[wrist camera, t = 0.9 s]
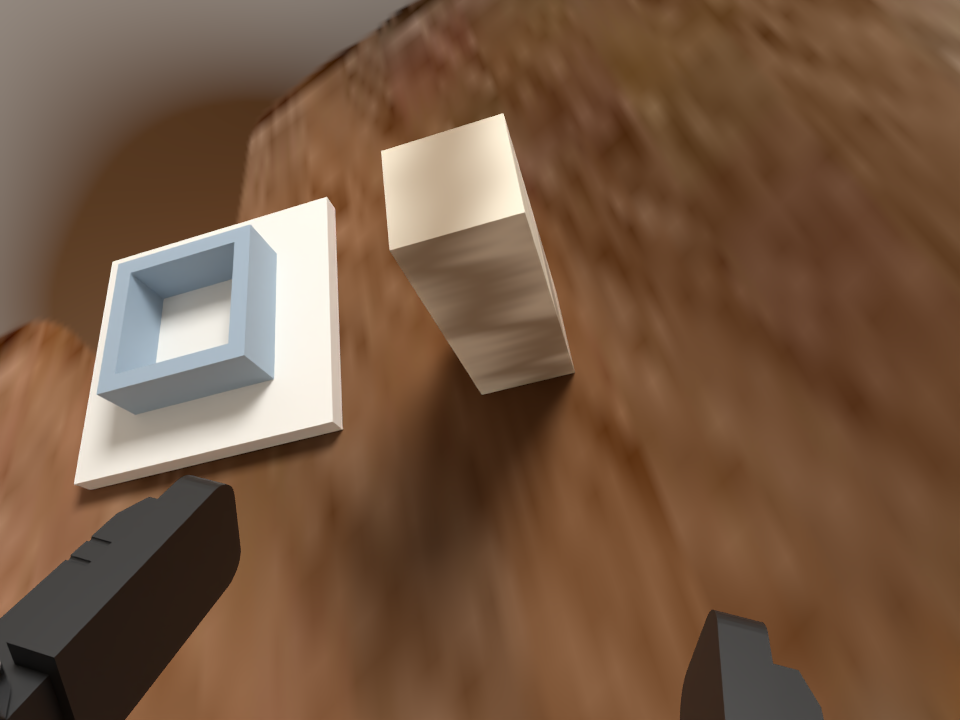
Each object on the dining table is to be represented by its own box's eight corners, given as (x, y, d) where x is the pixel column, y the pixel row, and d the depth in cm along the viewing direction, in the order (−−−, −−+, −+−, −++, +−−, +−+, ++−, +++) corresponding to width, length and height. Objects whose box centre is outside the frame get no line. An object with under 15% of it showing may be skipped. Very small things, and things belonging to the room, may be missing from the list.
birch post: (556, 293, 36) (503, 113, 25) (574, 372, 34) (524, 212, 23) (470, 316, 37) (381, 151, 26) (481, 394, 35) (389, 250, 24)
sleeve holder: (335, 208, 44) (304, 164, 40) (342, 429, 36) (305, 399, 32) (125, 271, 46) (78, 235, 43) (90, 490, 39) (29, 468, 35)
